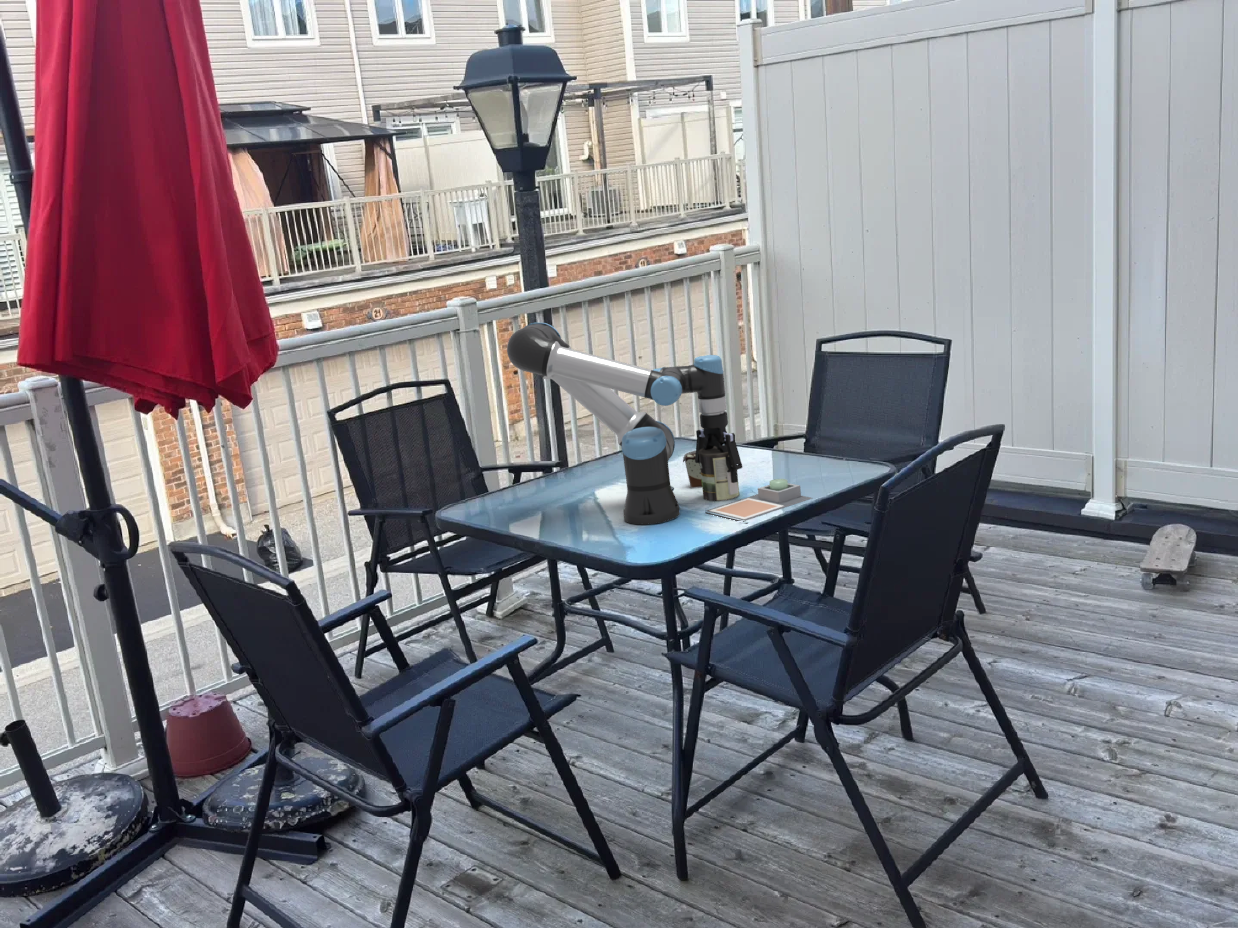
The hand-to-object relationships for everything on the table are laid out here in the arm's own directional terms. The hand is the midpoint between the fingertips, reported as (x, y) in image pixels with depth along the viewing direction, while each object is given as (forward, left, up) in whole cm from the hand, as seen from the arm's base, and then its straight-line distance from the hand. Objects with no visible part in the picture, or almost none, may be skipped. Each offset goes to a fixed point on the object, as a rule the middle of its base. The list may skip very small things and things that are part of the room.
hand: (720, 490), depth 301 cm
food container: (+8, +16, -3) cm, 18 cm away
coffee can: (0, 0, -3) cm, 3 cm away
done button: (+8, -16, 0) cm, 17 cm away
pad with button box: (0, -16, -2) cm, 16 cm away
